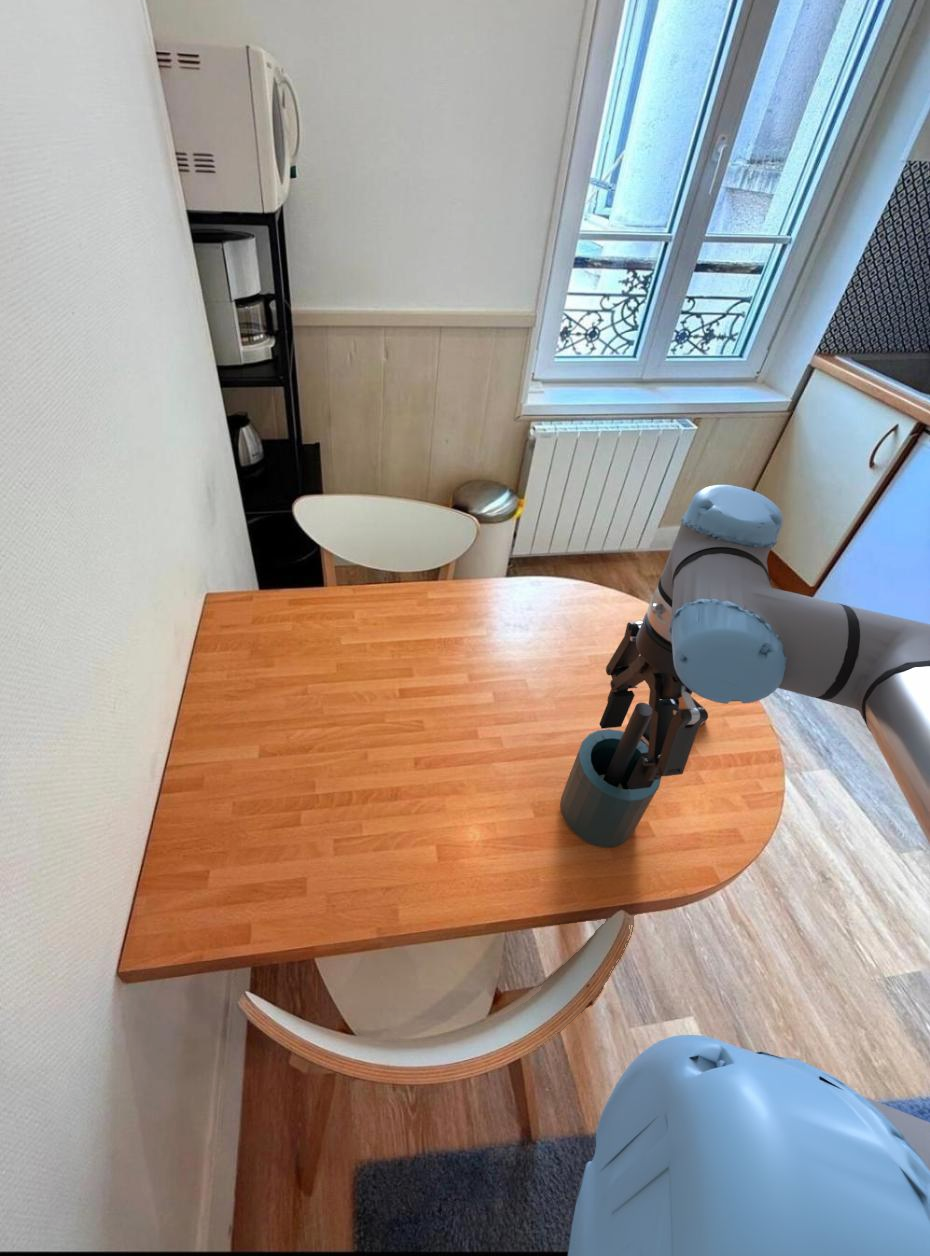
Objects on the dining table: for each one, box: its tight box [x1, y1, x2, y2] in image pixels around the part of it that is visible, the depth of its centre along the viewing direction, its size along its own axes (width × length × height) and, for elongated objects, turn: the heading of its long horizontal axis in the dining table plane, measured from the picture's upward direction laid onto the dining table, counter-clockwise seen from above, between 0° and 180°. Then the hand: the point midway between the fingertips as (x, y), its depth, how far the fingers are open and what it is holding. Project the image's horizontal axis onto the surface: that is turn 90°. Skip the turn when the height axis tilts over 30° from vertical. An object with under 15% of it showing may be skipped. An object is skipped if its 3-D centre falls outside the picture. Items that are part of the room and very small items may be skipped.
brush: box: [599, 702, 652, 789], centre depth 78 cm, size 4×4×22 cm
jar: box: [560, 728, 662, 849], centre depth 81 cm, size 10×10×12 cm
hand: (623, 754), depth 76 cm, fingers open, 8 cm apart
